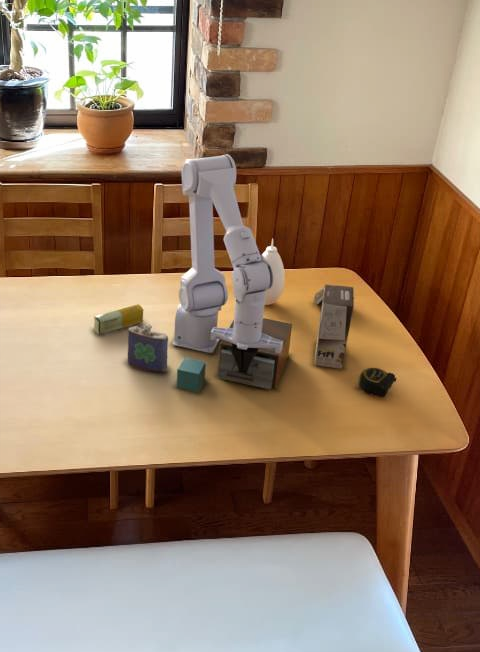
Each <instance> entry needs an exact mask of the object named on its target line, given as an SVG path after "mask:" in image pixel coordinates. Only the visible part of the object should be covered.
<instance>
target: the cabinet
mask: <svg viewBox="0 0 480 652" xmlns="http://www.w3.org/2000/svg"><path fill="white" fill-rule="evenodd" d="M233 326H234V319H233V320H232V322H231V323H230V326H229V327H228V328H233ZM292 329H293V323H291V322H286V321H280V320H277V319H270V318H265V317H263V323H262V333H263V334H265V335H267V336H270V337H272V338H274V339H277V340H281V341H283V346H282V351H281V353H280V354H278V353H275V351H273V350H268V349H263V348H259V349H258V351H257V355H262V356H267V357H271V358H275V364H274V372H273V381H272V387H271V390H275V389H276V387H277V384H278V383H279V380H280V377H281V375H282V373H283V370H284V367H285V365H286V363H287V361H288V357H289V353H290V346H291V339H292V337H291V336H292ZM231 347H232V343H231V342H229V341H225V340H221V342H220V346H219V356H220V355H221V351H222V349H224V350H227V348H229V349H231ZM218 359H219V360H218V369H219V368H220V357H219V358H218ZM217 371H218V373H217V374H218V375H217V377H218V378H219V370H217Z"/></svg>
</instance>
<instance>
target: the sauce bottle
mask: <svg viewBox="0 0 480 652" xmlns="http://www.w3.org/2000/svg"><path fill="white" fill-rule="evenodd" d="M270 243H271V244H270V245H269V246H267V247H266V248H265V250H264V252H263V253H262V254H261V255H263V256H264V258H265V259H266V260H267V261H268V262H269V263H270V265H271V268H272V272H273V285H272V287H271V288H270V289H266V295H265V305H264V306H269V305H273V303H277V301H278V300H279V298H280V297H281V296H282V294H283V290H284V286H285V279H286V278H285V277H286V276H285V267H284V263H283V261H282V258H281V255H280V254H279V252H278V248H277V247H276V246H274V238H272V239H271V242H270Z"/></svg>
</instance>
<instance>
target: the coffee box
mask: <svg viewBox="0 0 480 652" xmlns="http://www.w3.org/2000/svg"><path fill="white" fill-rule="evenodd" d="M324 286H325V288H324V295H323V301H322V306H321V308H320V315H319V321H318V328H317V329H318V330H317V336H316V342H315V353H314V366H319V367H324V368H325V367H326V368H333V369H339V370H341V369H342V368H343V364H344V360H345V354H346V349H347V345H348V339H349V338H348V337H349V334H350V327H351V322H352V318H353V312H354V311H353V310H354V307H355V305H354V304H355V297H354V286H348V285H337V284H336V285H334V284H324Z"/></svg>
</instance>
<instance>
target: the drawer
mask: <svg viewBox="0 0 480 652" xmlns="http://www.w3.org/2000/svg"><path fill="white" fill-rule="evenodd" d="M219 358H220V368H219V367H218V371H219V377H218V379H222V380H225V381H231V382H234V383H239V384H243V385H249V386H252V387H253V386H254V387H258V388H261V389H266V390H272V388H271V387H272V381H273V372H274V364H275V358H271V357H267V356H262V355H257V354H256V355H255V357H254V358H253V360H252V361H251V363H250V365H249V368H248V372H247V373H243V372H239V371H238V366H237V363H236V360H235V358H234V356H233V354H232V353H231V349H229V348H227V350H224V349H222V351H221V355H220V354H219Z"/></svg>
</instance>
